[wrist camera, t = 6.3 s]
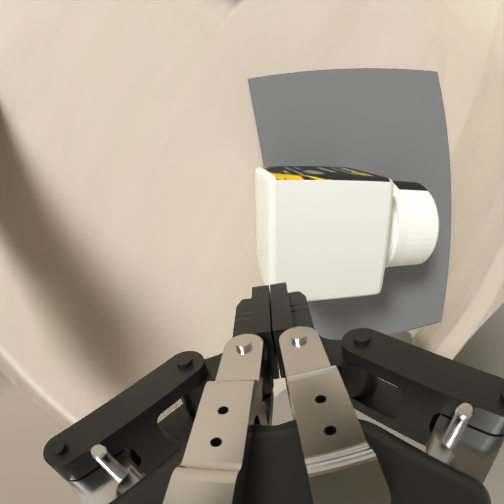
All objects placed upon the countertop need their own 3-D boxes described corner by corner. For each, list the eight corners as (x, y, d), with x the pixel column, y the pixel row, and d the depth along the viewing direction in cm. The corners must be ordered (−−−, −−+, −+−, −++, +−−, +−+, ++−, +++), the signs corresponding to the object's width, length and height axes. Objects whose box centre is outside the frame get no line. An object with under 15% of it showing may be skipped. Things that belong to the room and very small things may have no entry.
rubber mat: (247, 79, 20) (247, 78, 19) (435, 72, 18) (437, 71, 18) (292, 350, 28) (292, 352, 28) (439, 319, 26) (441, 321, 26)
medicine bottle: (254, 166, 21) (400, 169, 22) (256, 259, 23) (393, 251, 24) (268, 176, 14) (456, 184, 15) (268, 307, 17) (440, 287, 18)
